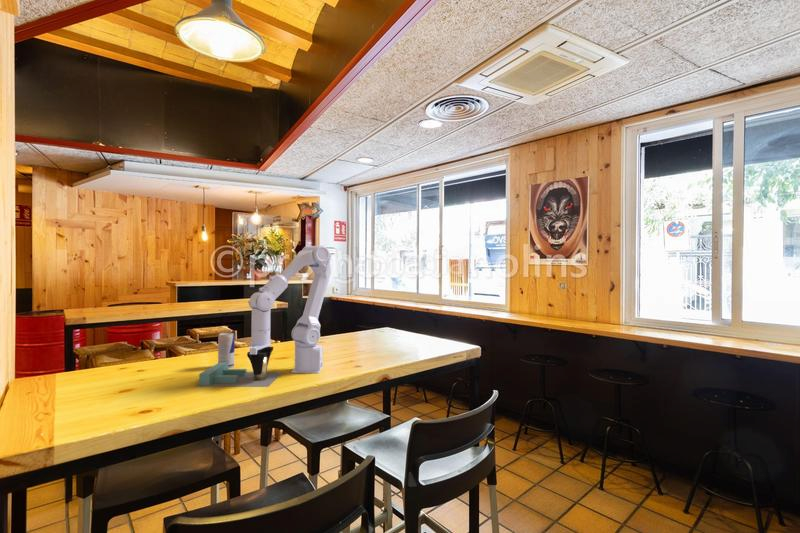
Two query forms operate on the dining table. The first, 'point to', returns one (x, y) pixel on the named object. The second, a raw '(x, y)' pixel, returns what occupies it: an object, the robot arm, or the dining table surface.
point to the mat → (248, 381)
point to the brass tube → (264, 372)
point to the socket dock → (220, 374)
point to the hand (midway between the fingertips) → (260, 372)
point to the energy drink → (226, 348)
